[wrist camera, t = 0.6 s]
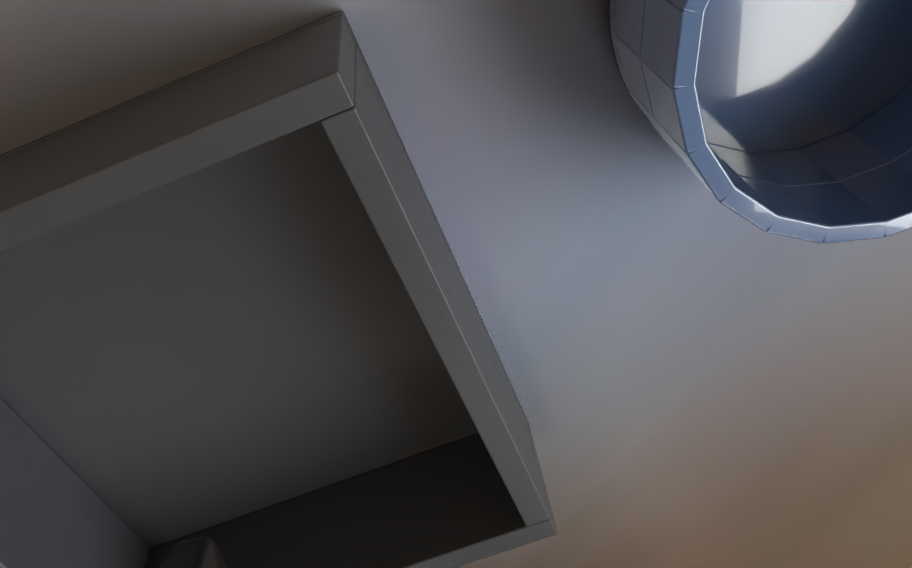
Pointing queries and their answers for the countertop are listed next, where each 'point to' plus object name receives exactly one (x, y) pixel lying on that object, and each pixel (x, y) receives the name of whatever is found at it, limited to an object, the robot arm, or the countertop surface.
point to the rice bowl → (781, 106)
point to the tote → (248, 336)
